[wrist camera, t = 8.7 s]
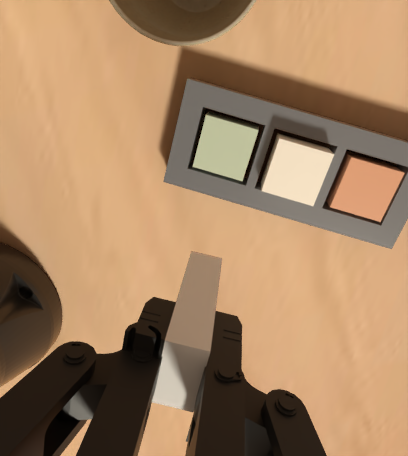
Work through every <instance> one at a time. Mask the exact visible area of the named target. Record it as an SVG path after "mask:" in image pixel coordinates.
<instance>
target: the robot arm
mask: <svg viewBox="0 0 408 456" xmlns="http://www.w3.org/2000/svg"><path fill="white" fill-rule="evenodd" d="M221 263H222V258H218V257H214V256H210V255H206V254H202V253H198V252H193V251H191V254H190V258H189V261H188V264H187V268H186V271H185V274H184V278H183V281H182V284H181V288H180V291H179V294H178V298H177V301H176V302H173V301H168V300H164V299H160V298H156V297H153V298H152V299H150V300H149V301H148V302H146V304H145V306H144V308H143V311H142V313H141V315H140V318H139V320H138V322H137V323H134V324H132V325H130V326H128V328H127V329H126V330H125V336H124V342H123V348H122V350H120V351H118V352H115V353H109V354H96V352H95V350H94V348H93V347H92V346H90V345H89V344H87V343H83V342H68V343H65V344H63V345H61V346H59V347H58V348H56V349H55V350H54V351H53V352H52V353H51V354H50V355H49V356H47V357H46V358H45V359H44V360H43V361H42V362H41V363H40V364H38V365H37V366H36V367H35V368H34V369H33V370H32V371H31V372H29V373H28V374H27V375H26V376H25V377H24V378H23V379H22V380H20V381H19V382H18V383H17V384H16V385H15V386H14V387H12V388H11V389H10V390H9V391H8V392H7V393H6V394H5V395H3V396H2V397H1V398H0V456H60V455H61V454H62V452H63V451H64V450H65V449H66V447H67V446H68V445H69V443H70V442H71V441H72V440H73V438H74V437H75V436H76V435H77V433H78V432H79V431H80V429H81V428H82V427H83V426H84V424H85V423H86V421H87V420H88V419H92V420H91V422H90V425H89V427H88V429H87V431H86V434H85V436H84V438H83V441H82V443H81V445H80V448H79V450H78V452H77V454H76V456H138V452H139V448H140V445H141V441H142V438H143V434H144V430H145V427H146V423H147V419H148V416H149V411H150V407H151V403H152V402H153V403H157V404H161V405H166V406H170V407H174V408H178V409H182V410H186V411H190V412H194V415H193V418H192V422H191V425H190V429H189V432H188V436H187V439H186V441H187V442H188V444H187V450H186V456H327V455H326V453H325V451H324V448H323V446H322V444H321V442H320V439H319V437H318V435H317V432H316V430H315V428H314V426H313V423H312V421H311V419H310V416H309V414H308V412H307V410H306V407H305V406H304V404H303V403H302V401H301V400H300V399H299V398H298V397H297V396H295V395H294V394H292V393H290V392H288V391H285V390H281V389H278V390H272V391H271V392H269V393H268V394H265V393H263V392H261V391H259V390H257V389H256V388H254V387H253V386H251V385H250V384H249V383H248V382H247V381H246V379H245V377H244V374H243V372H242V369H241V359H242V343H241V342H242V324H241V322H240V321H239V319H238V317H237V316H234V315H230V314H226V313H222V312H218V311H216V303H217V295H218V287H219V279H220V271H221ZM61 325H62V309H61V304H60V300H59V297H58V295H57V292H56V290H55V288H54V286H53V285H52V283H51V281H50V280H49V278H48V277H47V276H46V274H45V273H44V272H43V271H42V270H41V269H40V268H39V267H38V266H37V265H36V264H35V263H34V262H33V261H32V260H31V259H29V258H28V257H27V256H25V255H24V254H22V253H21V252H19V251H18V250H16V249H14V248H12V247H10V246H8V245H5V244H3V243H0V387H1V386H3V385H4V384H6V383H7V382H9V381H10V380H12V379H13V378H15V377H16V376H18V375H19V374H21V373H22V372H24V371H25V370H27V369H28V368H30V367H32V366H33V365H35V364H36V363H37V362H39V361H40V360H41V359H42V358H43V357H44V355H45V354H46V353H47V352H48V350H49V349H50V348H51V346H52V345H53V344H54V342H55V341H56V339H57V337H58V335H59V333H60V330H61Z"/></svg>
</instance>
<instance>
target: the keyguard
mask: <svg viewBox="0 0 408 456" xmlns="http://www.w3.org/2000/svg"><path fill="white" fill-rule="evenodd" d="M206 108H208V109H211V110H214V111H218V112H221V113H225V114H228V115H232V116H235V117H238V118H242V119H245V120H249V121H252V122H256V123H259V124H262V125H263V129H262V132H261V135H260V138H259V141H258V144H257V147H256V150H255V153H254V157H253V160H252V163H251V166H250V169H249V172H248V175H247V178H245V177H244V178H243V181H239V180H236V179H233V178H229V177H226V176H222V175H219V174H216V173H212V172H209V171H205V170H202V169H199V168H195V167H193V163H194V162H192V160H193V156H194V152H195V148H196V144H197V140H198V136H199V132H200V129H201V125H202V121H203V117H204V113H205V109H206ZM275 128H276V129H279V130H283V131H286V132H290V133H293V134H297V135H300V136H303V137H307V138H310V139H314V140H317V141H321V142H324V143H327V144H330V146H329V149H330V150H331V152H332V153H333V154H334V157H333V159H332V162H331V164H330V167H329V169H328V171H327V174H326V176H325V179H324V181H323V184H322V186H321V189H320V191H319V193H318V196H317V198H316V201H315V203H314V206H310V205H307V204H304V203H300V202H297V201H293V200H290V199H287V198H283V197H280V196H277V195H273V194H270V193H266V192H263V191H261V182H258V181H257V180H258V177H259V174H260V171H261V168H262V165H263V162H264V159H265V156H266V153H267V150H268V147H269V144H270V141H271V138H272V135H273V132H274V129H275ZM347 149H348V150H351V151H355V152H358V153H362V154H365V155H368V156H372V157H375V158H379V159H382V160H386V161H389V162H392V163H396V164H397V165H396V167H397V168H398V169H400V170H401V171H403V172H404V175H403V177H402V179H401V181H400V183H399V185H398V187H397V190H396V192H395V194H394V196H393V198H392V200H391V202H390V204H389V206H388V208H387V210H386V212H385V214H384V216H383V218H382V220H381V222H379V221H375V220H372V219H368V218H365V217H362V216H358V215H355V214H351V213H348V212H345V211H341V210H338V209H334V208H331V207H330V206H329V204H328V203H327V202H326V201H325V200H326V198H327V195H328V193H329V190H330V188H331V186H332V183H333V181H334V179H335V176H336V174H337V171H338V169H339V167H340V164H341V162H342V159H343V157H344V155H345V152H346V150H347ZM164 182H166V183H169V184H173V185H176V186H179V187H183V188H186V189H190V190H193V191H196V192H200V193H203V194H207V195H210V196H213V197H217V198H220V199H223V200H227V201H230V202H234V203H237V204H240V205H244V206H247V207H251V208H254V209H257V210H261V211H264V212H268V213H271V214H274V215H278V216H281V217H285V218H288V219H291V220H295V221H298V222H301V223H305V224H308V225H312V226H315V227H318V228H322V229H325V230H329V231H332V232H335V233H339V234H342V235H346V236H349V237H352V238H356V239H359V240H362V241H366V242H369V243H373V244H376V245H379V246H383V247H386V248H390V249H392V248H393V246H394V244H395V242H396V240H397V238H398V236H399V234H400V232H401V230H402V228H403V227H404V225H405V223H406V221H407V219H408V141H407V140H403V139H400V138H397V137H393V136H390V135H386V134H383V133H379V132H376V131H373V130H369V129H366V128H362V127H359V126H355V125H352V124H349V123H345V122H342V121H338V120H335V119H331V118H328V117H325V116H321V115H318V114H314V113H311V112H307V111H304V110H301V109H297V108H294V107H290V106H287V105H283V104H280V103H277V102H273V101H270V100H266V99H263V98H259V97H256V96H253V95H249V94H246V93H242V92H239V91H235V90H232V89H228V88H225V87H222V86H218V85H215V84H211V83H208V82H204V81H201V80H198V79H194V78H187V82H186V86H185V91H184V95H183V99H182V104H181V108H180V112H179V117H178V121H177V125H176V130H175V134H174V138H173V143H172V147H171V151H170V156H169V160H168V164H167V169H166V173H165V177H164Z"/></svg>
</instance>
